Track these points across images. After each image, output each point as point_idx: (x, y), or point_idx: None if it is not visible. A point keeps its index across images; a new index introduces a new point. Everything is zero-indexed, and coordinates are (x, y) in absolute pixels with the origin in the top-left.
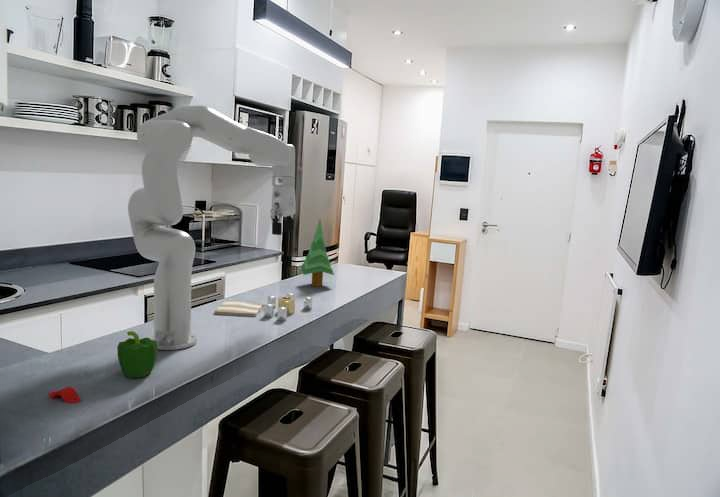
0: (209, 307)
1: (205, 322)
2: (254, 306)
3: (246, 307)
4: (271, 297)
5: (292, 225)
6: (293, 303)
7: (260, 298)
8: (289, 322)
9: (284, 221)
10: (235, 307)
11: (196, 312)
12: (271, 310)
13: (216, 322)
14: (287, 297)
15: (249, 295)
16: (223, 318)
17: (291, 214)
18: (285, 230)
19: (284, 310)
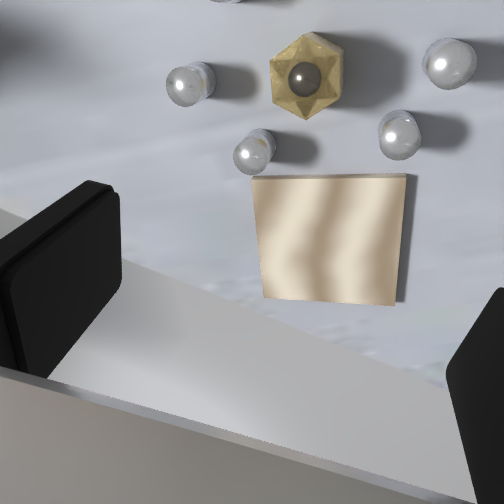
0: (318, 323)
1: None
2: (305, 202)
3: (325, 225)
4: (267, 156)
5: (66, 223)
6: (314, 38)
7: (161, 206)
8: (485, 12)
9: (53, 369)
10: (333, 257)
11: (381, 343)
12: (413, 120)
13: (493, 278)
14: (296, 77)
15: (142, 245)
16: (441, 268)
17: (205, 443)
18: (114, 272)
19: (472, 48)
